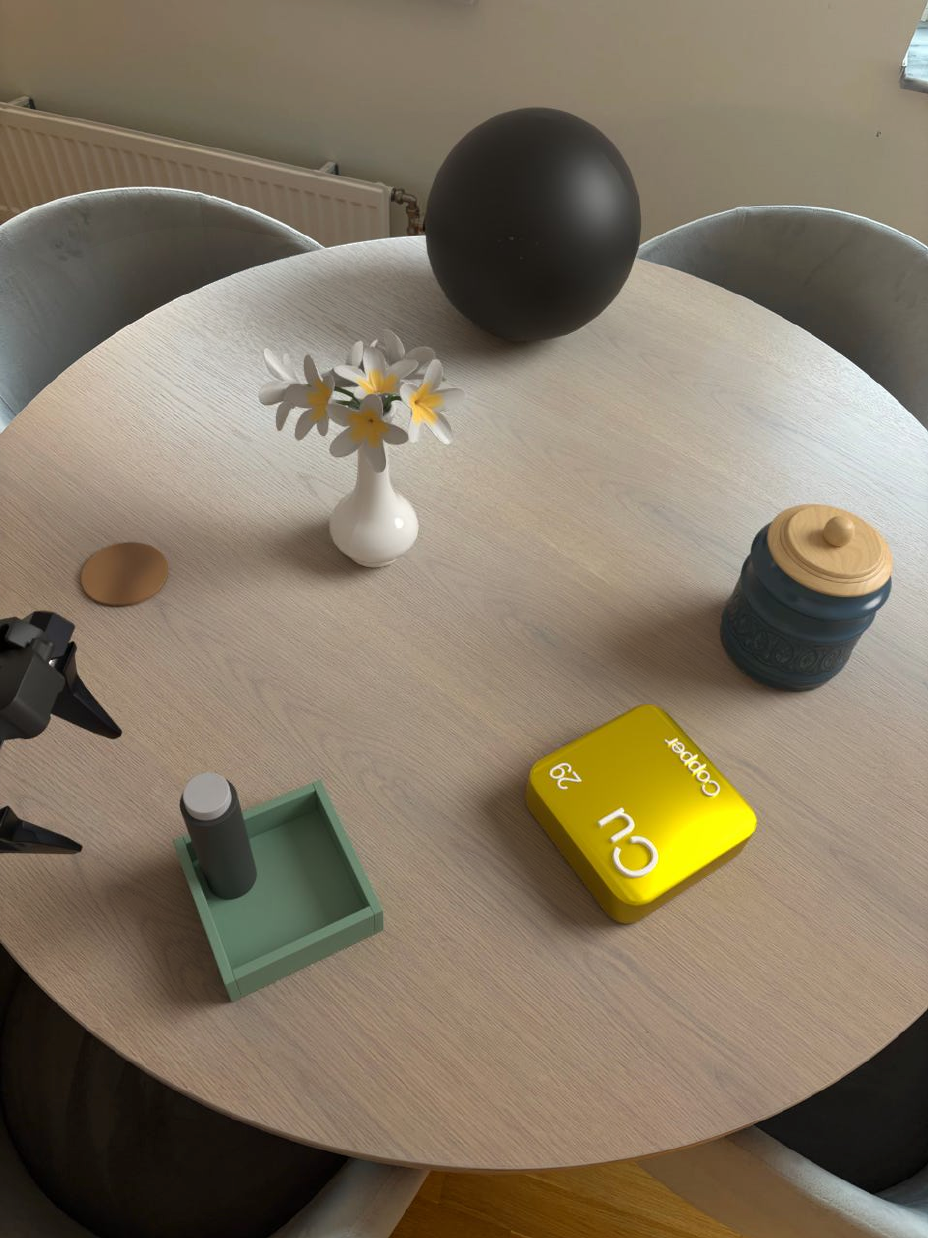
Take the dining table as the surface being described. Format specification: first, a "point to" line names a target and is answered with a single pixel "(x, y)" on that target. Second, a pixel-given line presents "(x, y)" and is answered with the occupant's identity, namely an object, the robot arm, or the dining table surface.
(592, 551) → the dining table surface
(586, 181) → the ball
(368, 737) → the dining table surface
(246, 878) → the salt mill
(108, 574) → the coaster
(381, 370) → the flower vase
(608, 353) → the dining table surface
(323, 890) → the box
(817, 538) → the canister
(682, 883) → the element tile
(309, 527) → the dining table surface
